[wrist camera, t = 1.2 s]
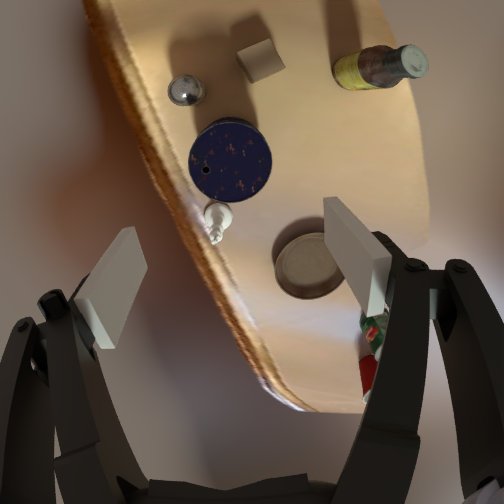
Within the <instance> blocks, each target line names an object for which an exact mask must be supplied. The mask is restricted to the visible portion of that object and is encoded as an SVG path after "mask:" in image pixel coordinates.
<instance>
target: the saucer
mask: <svg viewBox="0 0 504 504" xmlns="http://www.w3.org/2000/svg"><path fill="white" fill-rule="evenodd" d="M275 278H276V281H277V283H278V285H279V286H280V288H281V289H282V290H283V291H284V292H285V293H286V294H288V295H290V296H292V297H294V298H297V299H302V300H312V299H317V298H321V297H324V296H326V295H328V294H330V293H332V292H333V291H334V290H336V289H337V288H338V287H339V286H340V285H341V284H342V282H343V281H344V280H345V277H344V275H343V273H342V272H341V270H340V268H339V266H338V265H337V263H336V261H335V260H334V258H333V256H332V254H331V253H330V251H329V249H328V248H327V246H326V244H325V240H324V233H320V232H316V233H309V234H305V235H302V236H300V237H297V238H296V239H294V240H292V241H291V242H290V243H288V244H287V245H286V246H285V247H284V248H283V250H282V251H281V252H280V254H279V256H278V258H277V260H276V264H275Z"/></svg>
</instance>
